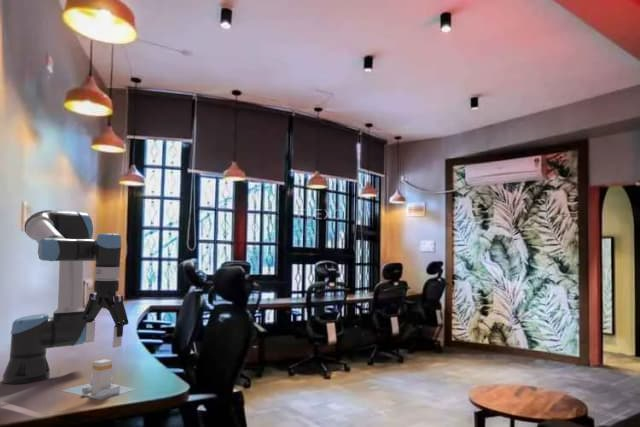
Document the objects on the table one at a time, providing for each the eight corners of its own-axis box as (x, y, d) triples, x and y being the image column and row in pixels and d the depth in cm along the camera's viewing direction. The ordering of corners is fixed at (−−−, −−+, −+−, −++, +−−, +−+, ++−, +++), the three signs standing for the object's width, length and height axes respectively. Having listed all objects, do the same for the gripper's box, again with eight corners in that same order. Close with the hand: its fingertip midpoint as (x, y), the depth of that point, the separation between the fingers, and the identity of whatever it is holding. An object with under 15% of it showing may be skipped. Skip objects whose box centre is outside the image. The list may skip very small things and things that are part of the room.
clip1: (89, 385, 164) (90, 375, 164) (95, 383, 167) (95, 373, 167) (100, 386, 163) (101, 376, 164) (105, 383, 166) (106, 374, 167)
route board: (60, 394, 157) (60, 390, 157) (97, 384, 169) (97, 381, 170) (99, 403, 148) (100, 399, 148) (136, 392, 160) (136, 389, 160)
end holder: (81, 395, 152) (82, 387, 152) (103, 389, 159) (103, 382, 159) (98, 399, 148) (98, 391, 149) (119, 393, 155) (119, 385, 156)
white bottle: (91, 392, 153) (93, 361, 154) (102, 389, 157) (104, 359, 158) (99, 394, 151) (101, 363, 152) (110, 391, 155) (112, 360, 156)
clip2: (101, 386, 162) (101, 377, 163) (110, 385, 164) (111, 376, 164) (102, 389, 159) (103, 379, 159) (112, 388, 160) (112, 378, 161)
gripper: (72, 278, 160) (68, 341, 158) (122, 282, 148) (119, 350, 146) (92, 277, 166) (89, 338, 165) (142, 281, 154) (138, 346, 153)
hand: (103, 344), depth 155 cm, fingers open, 13 cm apart
